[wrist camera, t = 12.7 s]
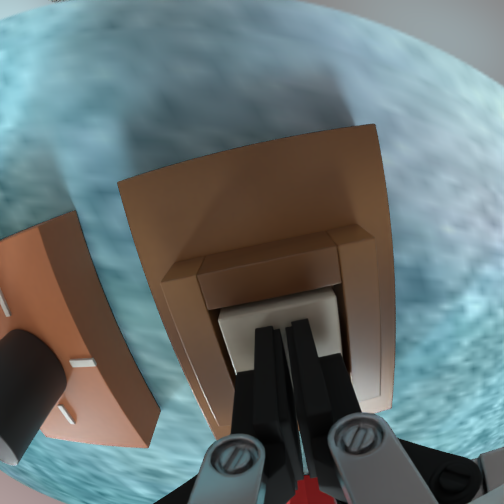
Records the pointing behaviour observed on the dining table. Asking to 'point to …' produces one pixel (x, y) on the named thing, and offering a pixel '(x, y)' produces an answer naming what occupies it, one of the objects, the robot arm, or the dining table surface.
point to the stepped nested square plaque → (270, 251)
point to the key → (281, 323)
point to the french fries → (310, 493)
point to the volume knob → (25, 391)
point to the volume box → (75, 335)
